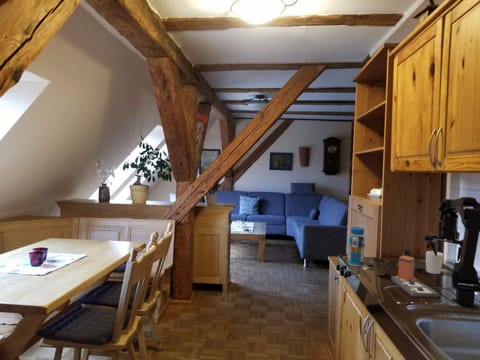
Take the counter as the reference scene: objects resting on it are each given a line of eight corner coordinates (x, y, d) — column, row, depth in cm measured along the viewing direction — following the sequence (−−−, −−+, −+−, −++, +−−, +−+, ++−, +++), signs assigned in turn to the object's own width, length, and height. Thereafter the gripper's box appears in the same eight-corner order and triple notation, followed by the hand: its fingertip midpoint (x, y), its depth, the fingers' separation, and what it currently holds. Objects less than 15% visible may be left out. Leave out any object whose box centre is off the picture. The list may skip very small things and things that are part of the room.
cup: (385, 273, 169) (386, 257, 169) (390, 278, 162) (391, 262, 162) (370, 272, 170) (371, 256, 170) (374, 277, 163) (375, 261, 162)
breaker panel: (438, 297, 141) (438, 291, 141) (412, 296, 141) (413, 290, 141) (413, 279, 161) (413, 274, 161) (390, 279, 161) (391, 274, 161)
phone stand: (396, 268, 177) (398, 246, 176) (397, 265, 182) (398, 244, 181) (416, 271, 173) (417, 249, 172) (416, 268, 178) (417, 246, 177)
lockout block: (408, 281, 155) (410, 259, 154) (397, 277, 158) (399, 257, 158) (413, 278, 158) (414, 258, 157) (402, 275, 162) (403, 255, 161)
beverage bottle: (344, 262, 185) (346, 226, 184) (357, 261, 188) (359, 226, 186) (353, 267, 177) (355, 230, 176) (367, 266, 180) (369, 229, 178)
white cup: (426, 268, 179) (427, 250, 178) (443, 271, 174) (444, 253, 174) (423, 271, 173) (424, 253, 172) (440, 275, 168) (442, 256, 167)
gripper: (478, 227, 154) (475, 260, 155) (434, 220, 168) (431, 251, 169) (470, 230, 147) (468, 265, 148) (425, 223, 161) (423, 254, 162)
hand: (446, 258), depth 157 cm, fingers open, 9 cm apart
